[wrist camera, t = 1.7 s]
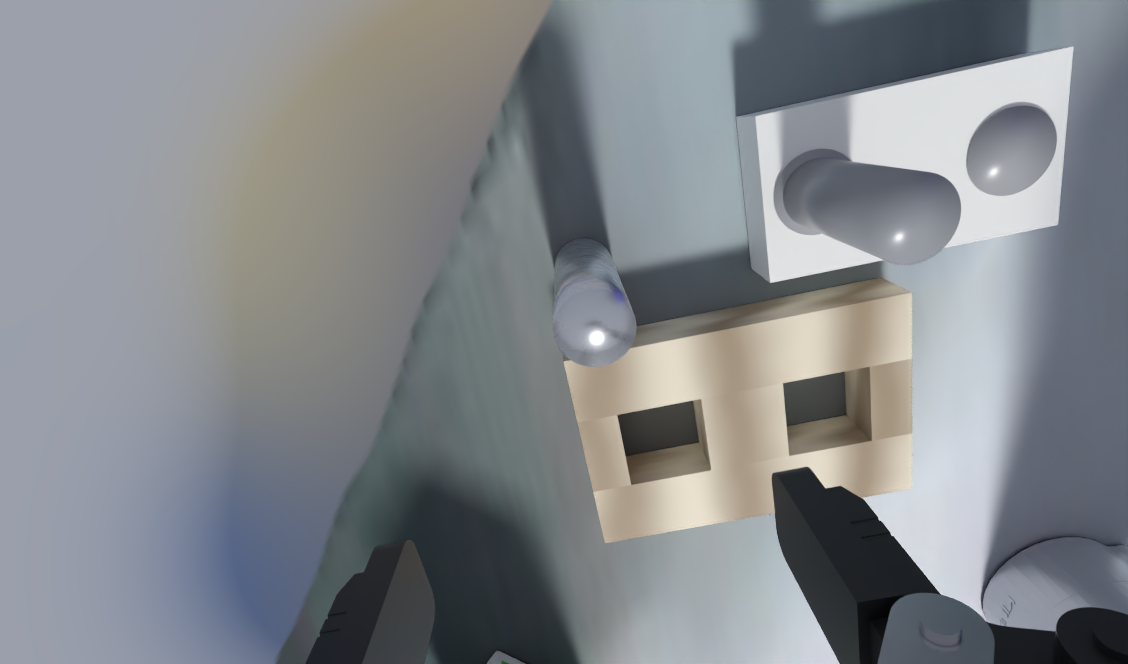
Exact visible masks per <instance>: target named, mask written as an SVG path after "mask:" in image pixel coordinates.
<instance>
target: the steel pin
mask: <svg viewBox="0 0 1128 664" xmlns="http://www.w3.org/2000/svg"><path fill="white" fill-rule="evenodd" d="M636 328H637V325H636V319H635V315H634V312H633V310H632V307H631V305H630V302H629V300H628V297H627V295H626V292H625V290H624V287H623V285H622V282H621V280H620V277H619V275H618V272H617V270H616V267H615V265H614V262H613V260H612V257H611V255H610V253H609V251H608V250H607V249H606V247H605V246H604V245H602V244H601V243H600V242H598V241H596V240H593V239H589V238H580V239H575V240H573V241H570V242H569V243H567V244H566V245H564V246H563V247H562V248H561V250H560V251H559V253H558V255H557V257H556V260H555V271H554V337H555V341H556V343H557V345H558V347H559V349H560V350H561V352H562V353H563V354H564V355H565V356H566V357H567V358H568V359H570V360H571V361H573V362H575V363H577V364H580V365H583V366H587V367H601V366H605V365H609V364H611V363H614V362H615V361H617V360H619V359H620V358H622V357H623V356H624V355H625V354H626V353H627V352H628V350H629V349H630V347H631V346H632V344H633V342H634V339H635V336H636Z"/></svg>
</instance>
